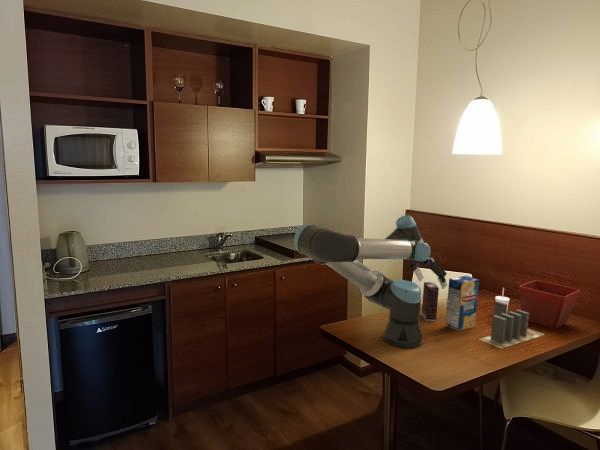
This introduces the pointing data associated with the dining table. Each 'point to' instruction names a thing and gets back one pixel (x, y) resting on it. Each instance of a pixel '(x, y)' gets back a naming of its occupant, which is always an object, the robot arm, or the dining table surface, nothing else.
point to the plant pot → (548, 302)
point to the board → (513, 339)
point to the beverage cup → (502, 299)
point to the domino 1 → (500, 308)
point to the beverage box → (462, 302)
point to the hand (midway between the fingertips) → (432, 283)
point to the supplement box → (430, 301)
